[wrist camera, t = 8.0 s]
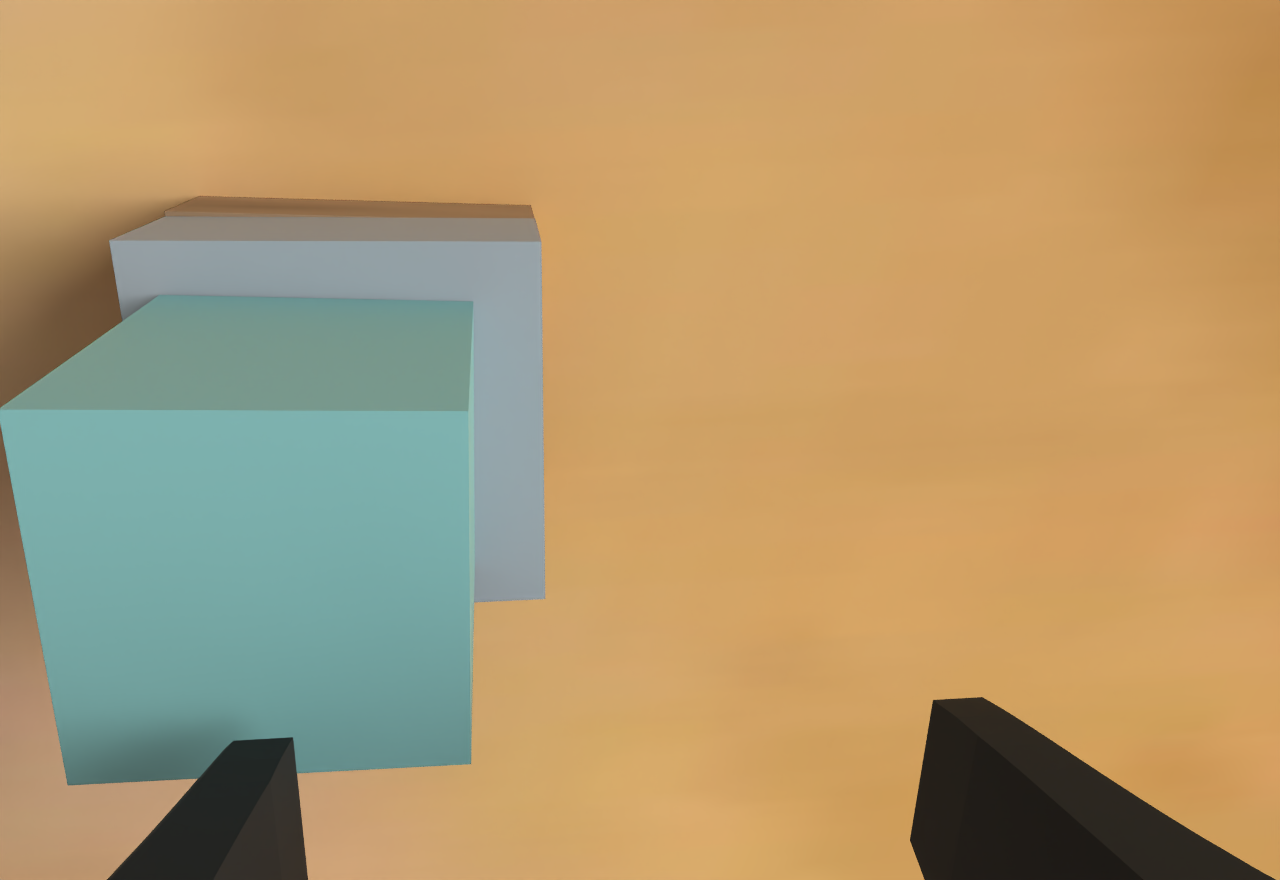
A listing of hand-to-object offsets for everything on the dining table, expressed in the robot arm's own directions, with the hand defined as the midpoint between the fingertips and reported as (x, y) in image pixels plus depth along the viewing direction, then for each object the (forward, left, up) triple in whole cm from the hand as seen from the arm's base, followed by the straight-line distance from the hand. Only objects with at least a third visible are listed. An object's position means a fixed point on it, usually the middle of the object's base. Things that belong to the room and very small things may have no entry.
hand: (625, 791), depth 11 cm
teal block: (+2, +4, -6) cm, 7 cm away
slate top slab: (+2, +4, -8) cm, 9 cm away
